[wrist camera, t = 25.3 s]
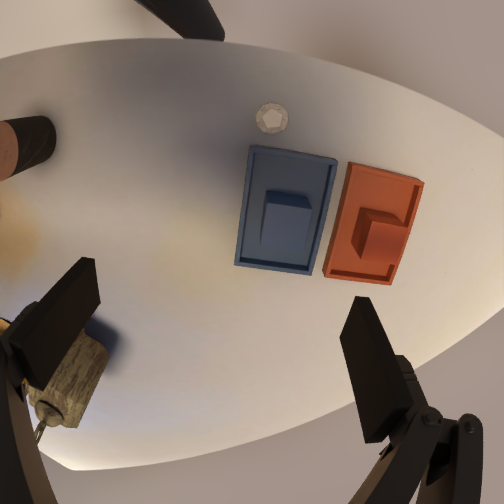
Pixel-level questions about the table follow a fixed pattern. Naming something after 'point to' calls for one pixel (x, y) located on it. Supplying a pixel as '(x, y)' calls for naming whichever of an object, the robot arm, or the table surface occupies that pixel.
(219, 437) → the table surface
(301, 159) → the blue tray
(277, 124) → the game die
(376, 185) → the terracotta tray
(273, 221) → the blue block
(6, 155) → the travel mug
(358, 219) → the terracotta block
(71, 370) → the tabletop clock
